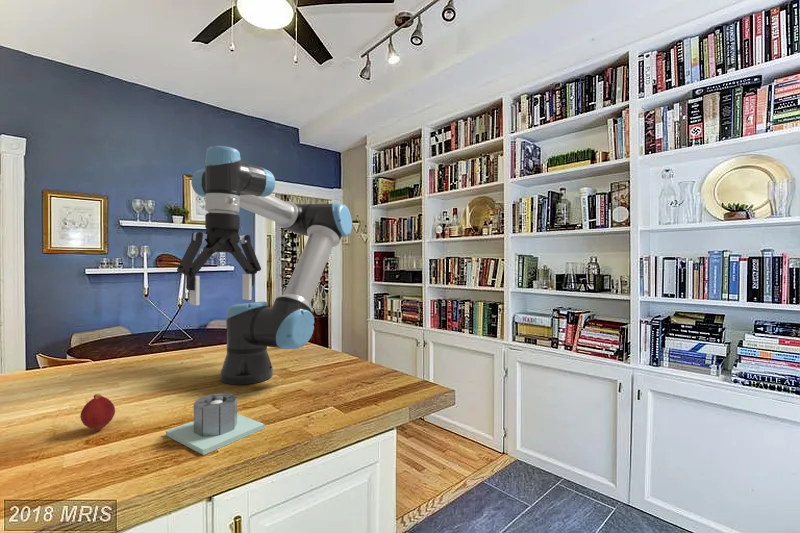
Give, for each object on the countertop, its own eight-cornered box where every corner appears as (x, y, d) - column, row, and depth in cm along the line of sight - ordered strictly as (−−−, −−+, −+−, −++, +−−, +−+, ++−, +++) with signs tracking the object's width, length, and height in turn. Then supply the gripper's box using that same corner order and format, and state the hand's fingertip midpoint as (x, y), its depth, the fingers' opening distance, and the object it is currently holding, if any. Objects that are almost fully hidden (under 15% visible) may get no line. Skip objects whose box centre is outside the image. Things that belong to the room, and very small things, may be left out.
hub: (187, 429, 84) (187, 401, 83) (222, 416, 90) (222, 390, 90) (208, 439, 79) (209, 410, 79) (243, 425, 86) (244, 398, 86)
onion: (93, 424, 87) (93, 388, 87) (120, 424, 88) (120, 388, 88) (74, 436, 82) (73, 398, 81) (103, 436, 82) (103, 398, 82)
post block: (165, 435, 83) (165, 404, 83) (226, 413, 95) (226, 386, 94) (203, 455, 75) (203, 421, 75) (264, 428, 87) (264, 399, 87)
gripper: (177, 206, 82) (177, 308, 82) (275, 217, 103) (274, 298, 103) (159, 208, 86) (159, 305, 86) (257, 218, 107) (256, 296, 107)
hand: (222, 302), depth 95 cm, fingers open, 13 cm apart
